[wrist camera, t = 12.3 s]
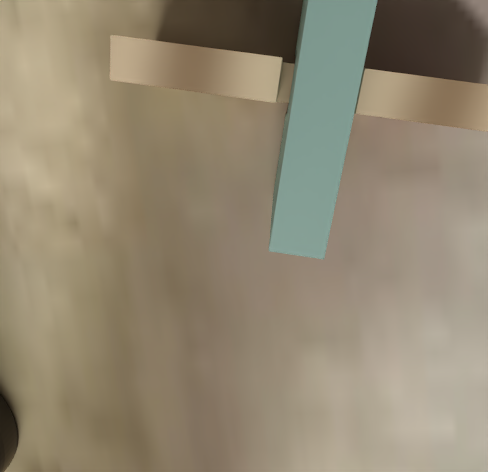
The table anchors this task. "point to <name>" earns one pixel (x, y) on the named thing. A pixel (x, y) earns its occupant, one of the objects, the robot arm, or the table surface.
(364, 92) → the birch notched board
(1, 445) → the robot arm
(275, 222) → the teal slotted plate
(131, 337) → the table surface
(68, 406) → the table surface
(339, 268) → the table surface
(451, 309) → the table surface
